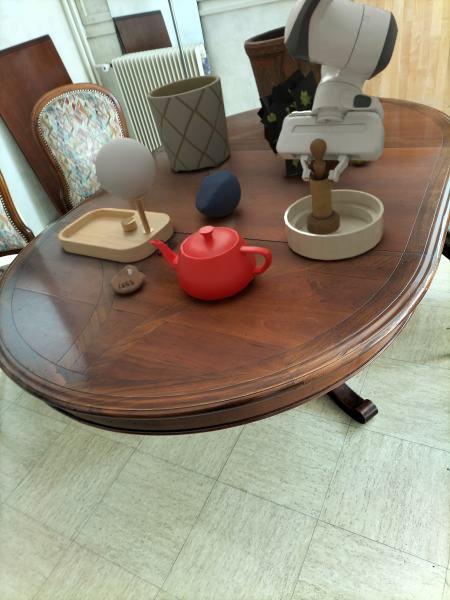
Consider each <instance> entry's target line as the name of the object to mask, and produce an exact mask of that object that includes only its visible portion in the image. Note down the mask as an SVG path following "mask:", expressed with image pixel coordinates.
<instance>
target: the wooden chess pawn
mask: <svg viewBox="0 0 450 600" xmlns="http://www.w3.org/2000/svg"><path fill="white" fill-rule="evenodd" d="M326 149H327V144H326V142H325V141H324V140H323V139H320V138H318V139H315V140H313V141H312V142H311V144H310V151H311V153H312V155H313V156H314V158H315V160H314V162H313V164H312V167H313V173H314V174H312V175H311V176H310V181H309V183H310V195H311V197H312V213H311V214H309V215H308V217H307V230H308V231H309V232H310V233H312V234H318V235H326V234H330V233H333V232H335V231H336V230H338V229H339V227H340V216H339V214H338V213H337V212H336V211H334V210H332V195H331V190H332V182H330V181H329V180H328V176H329V171H326V166H327V165H326V164H327V163H326V162H325V160H323V156H324V154H325V152H326Z"/></svg>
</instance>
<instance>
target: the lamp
mask: <svg viewBox="0 0 450 600" xmlns="http://www.w3.org/2000/svg"><path fill="white" fill-rule="evenodd" d="M94 166H95V167H94V169H95V174H96V177H97V180H98V182H99V184H100V185H101V187H102V188H103V189H104V190H105V191H106V192H107V193H108V194H110V195H112V196H114V197H115V198H118V199H121V200H123V201H125V202H129V203H131V202H134V204H135V208H136V209H135V210H134V209H124V208H114V207H102V208H97V209H93V210H90V211H88V212H86V213H85V214H83V215H82V216H80V217H79V218H77V219H75V220H74V221H73V222H71V223H69V224H68V225H67V226H65V227H64V228H63V229H61V231H59V233H58V235H57V236H58V239H59V241H60V243H61V246H62V248H63V250H64V251H65V252H67V253H72V254H76V255H81V256H87V257H93V258H98V259H104V260H109V261H114V262H119V263H134V262H138V261H142V260H145V258H148V257H150V256H151V255H153V254H154V253H155V252H156V254H161V255H162V253H161V251H160V250H159V249H157V248H156V247H155V246H154V245H153V244H151V243H150V242H149V241H150V240H160V241H162V242H163V243H164V244H166V245H167V246H168V247H169V248H170V249H171V250H172V249H173V248H174V247H175V244H174V243H173V242H172V241H169V239H170V238H171V237H172V236H173V234H174V227H173V223H172V220H171V217H170V216H169V215H168V214H167V213H164V212H156V211H145V210H144V206H143V204H142V199H144V198H145V197H146V196H147V194H148V193H149V190H151V188H152V186H153V184H154V182H155V178H156V174H157V172H156V170H157V168H156V162H155V159H154V156H153V154H152V153H151V151H150V150H149V148H147V146H146V145H144V144H143V143H142V142H140V141H139V140H137V139H134V138H131V137H125V136H124V137H116V138H113V139H111V140H109V141H107V142H106V143H105V144H104V145H102V147H101V148H100V149H99V151H98V152H97V155H96V158H95V164H94Z"/></svg>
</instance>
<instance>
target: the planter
mask: <svg viewBox="0 0 450 600" xmlns="http://www.w3.org/2000/svg"><path fill="white" fill-rule="evenodd" d="M221 81H222V79H221V77H220V76H219V75H216V74H204V75H203V74H202V75H197V76H191V77H186V78H182V79H179V80H174V81H171V82H168V83H166V84H163V85H159V86H158V87H155V88H154V89H152V90H150V91H149V92H148V93H147V94H146V99H147V102H148V105H149V108H150V111H151V115H152V117H153V119H154V123H155V126H156V128H157V131H158V134H159V137H160V140H161V143H162V146H163V147H164V151H165V153H166V157H167V160H168V162H169V165H170V166H171V169H172V170H173V171H174V172H175V173H180V171H194V170H195V171H196V170H200V169H204V168H208V167H213V168H218V167H220V166H221V164H222V163H224V162H225V161H226V160H227V158H228V157H229V156H230V154H231V147H230V139H229V131H228V124H227V123H228V122H227V117H226V109H225V108H226V107H225V101H224V95H223V88H222V82H221Z"/></svg>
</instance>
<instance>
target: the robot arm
mask: <svg viewBox="0 0 450 600" xmlns="http://www.w3.org/2000/svg"><path fill="white" fill-rule="evenodd" d="M285 26H286V27H285V41H284V44H285V46H286V48H287V50H288V52H289V53H290V55H291V56H292V58H293V59H294V60H295V61H301V62H308V63H312V62H313V63H317V64H321V65H322V67H321V81H320V83H319V85H318V87H317V89H316V94H315V98H314V103H313V107H312V111H303V112H298V111H296V112H292V114H290V115H288V116H287V117H285V119H284V122H283V126H282V131H281V133H280V136H279V139H278V142H277V146H276V150H277V152H278V153H277V155H279V156H280V157H281V158H282V159H284V160H285V159H300V161H301V164H302V167H303V173H302V175H301V179H302V180H303V181H304V182H310V176H311V175H312V174H314V173H315V172H314V171H313V170H312V169H311V168H310V167H309V165H311V163H312V160H313V161H315V158H314V156H313V155H312V153H311V151H310V144H311V142H312V141H313V140H315V139H318V138H320V139H323V140H324V141H325V142H326V144H327V149H326V152H325V154H324V156H323V161H326V160H327V161H338V164H337V165H336V166H335V168H334V169H329V171H328V173H329V176H328V180H329V181H330V182H331V183H338V182H339V180H340V175H341V174H342V173H343V172H344V170H345V169H346V168H347V167H348V166H349V162H350V161H351V160H366V161H377V160H378V159H380V158H381V157H382V155H383V153H384V147H385V137H386V133H385V132H386V131H385V127H384V124H383V123H384V121H385V112H384V108H383V104H382V103H381V101H380V100H379V98H378V97H377V96H373V95H369V94H366V93H364V84H365V82H366V81H370V80H372V79H374V78H375V77H376V76H377V75H379V74H380V73H381V72H383V71H384V70H386V68H387V67H388V65H389V64H390V63H391V61H392V57H393V54H394V52H395V51H394V50H395V47H396V43H397V38H398V34H399V28H398V23H397V20H396V18H395V15H394V14H393V12H392V11H389V10H387V9H384V8H381V7H379V6H374V5H370V4H366V3H360V2H356V1H353V0H352V1H351V0H296V1H295V2H294V4H293V6H292V7H291V9H290V11H289V13H288V16H287V19H286V22H285ZM290 116H292V117H290Z"/></svg>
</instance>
